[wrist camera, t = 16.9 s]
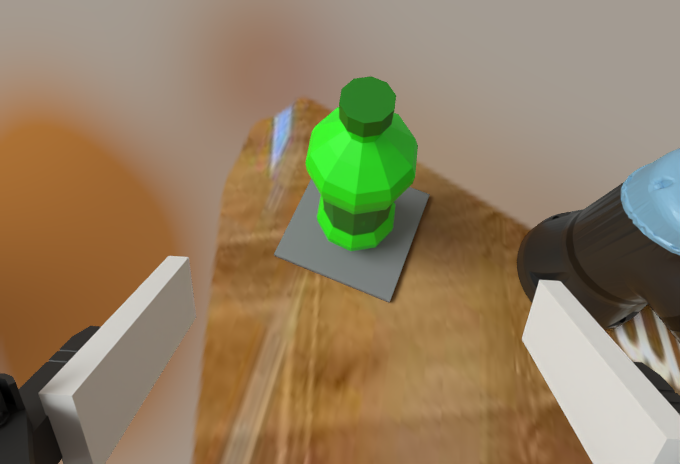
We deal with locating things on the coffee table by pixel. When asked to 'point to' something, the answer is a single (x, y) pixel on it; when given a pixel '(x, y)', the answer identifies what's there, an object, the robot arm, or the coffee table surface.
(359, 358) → the coffee table surface
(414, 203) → the rubber coaster
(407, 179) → the plastic bottle
